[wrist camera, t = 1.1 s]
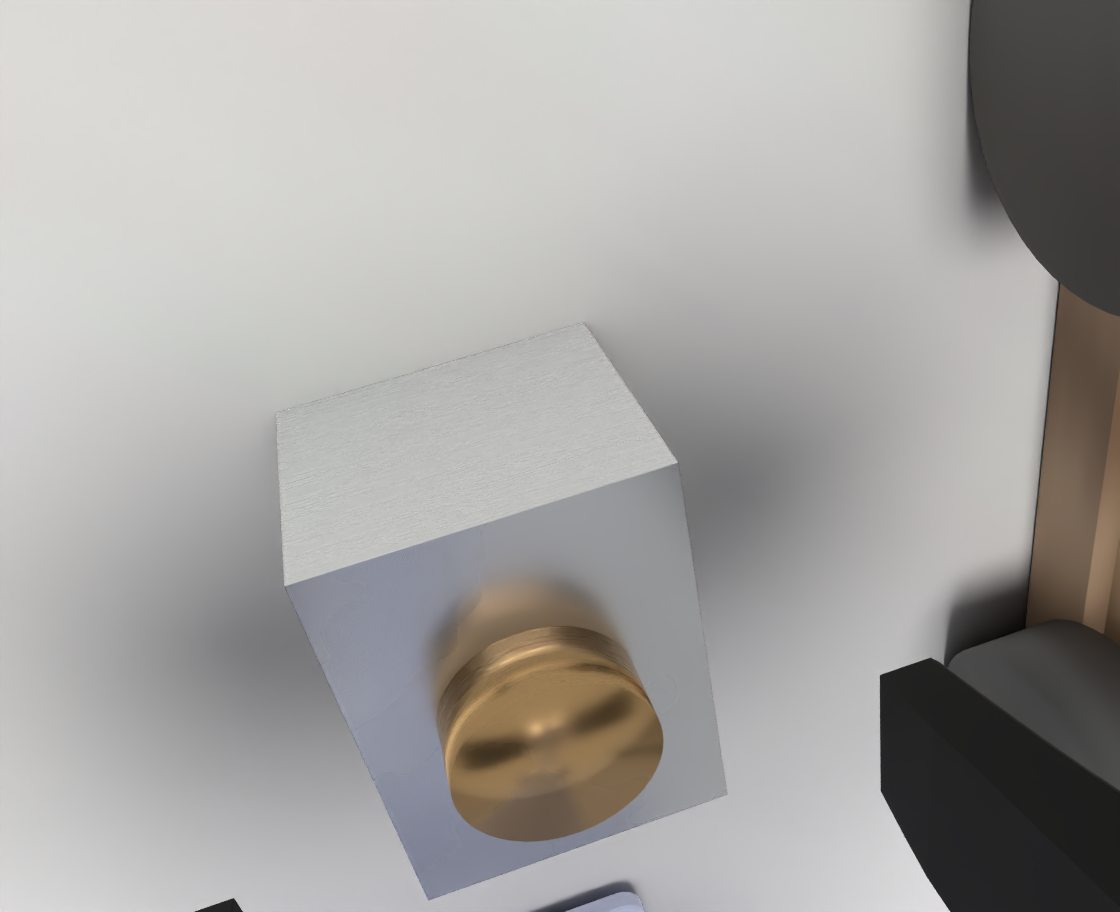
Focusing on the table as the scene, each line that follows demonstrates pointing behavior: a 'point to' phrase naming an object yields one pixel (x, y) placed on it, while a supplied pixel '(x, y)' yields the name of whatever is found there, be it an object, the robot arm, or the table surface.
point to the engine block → (502, 603)
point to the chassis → (1063, 358)
